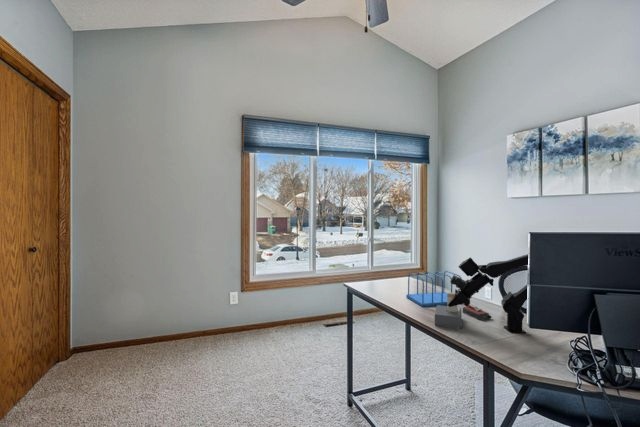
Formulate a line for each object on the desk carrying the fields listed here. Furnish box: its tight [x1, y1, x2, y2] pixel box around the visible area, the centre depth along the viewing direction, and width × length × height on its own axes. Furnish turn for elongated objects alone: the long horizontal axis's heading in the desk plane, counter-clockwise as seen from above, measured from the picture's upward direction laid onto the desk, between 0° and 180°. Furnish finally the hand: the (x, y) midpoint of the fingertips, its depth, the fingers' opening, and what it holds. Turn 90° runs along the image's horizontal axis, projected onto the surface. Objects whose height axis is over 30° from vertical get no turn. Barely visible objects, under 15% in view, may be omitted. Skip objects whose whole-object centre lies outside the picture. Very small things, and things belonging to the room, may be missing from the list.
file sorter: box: [405, 270, 463, 307], centre depth 182 cm, size 25×17×15 cm
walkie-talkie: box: [462, 304, 493, 321], centre depth 162 cm, size 9×4×20 cm
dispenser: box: [434, 305, 463, 330], centre depth 150 cm, size 11×14×6 cm
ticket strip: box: [446, 291, 458, 313], centre depth 149 cm, size 4×1×13 cm, turn 67°
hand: (448, 305), depth 150 cm, fingers closed on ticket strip
